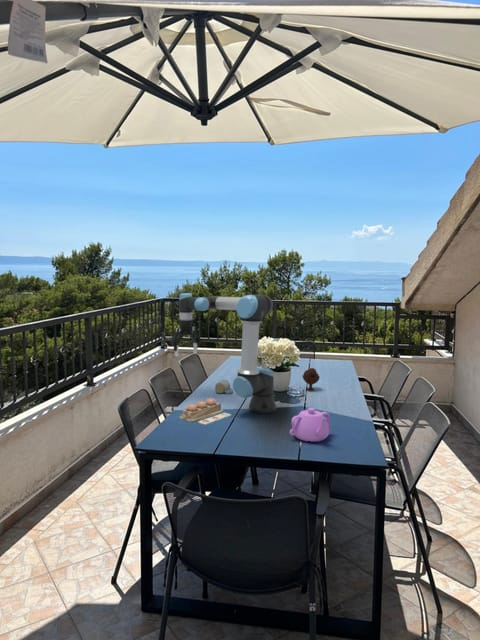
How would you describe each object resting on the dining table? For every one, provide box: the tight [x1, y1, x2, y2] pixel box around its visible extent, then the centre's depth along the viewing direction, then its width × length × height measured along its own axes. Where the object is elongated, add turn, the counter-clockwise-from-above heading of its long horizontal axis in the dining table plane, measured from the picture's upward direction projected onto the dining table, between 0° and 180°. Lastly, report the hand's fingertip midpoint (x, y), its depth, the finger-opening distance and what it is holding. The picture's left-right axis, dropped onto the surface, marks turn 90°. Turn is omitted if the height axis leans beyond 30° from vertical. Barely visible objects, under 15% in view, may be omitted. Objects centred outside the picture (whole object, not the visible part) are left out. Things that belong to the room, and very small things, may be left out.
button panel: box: [178, 401, 224, 423], centre depth 246 cm, size 10×23×4 cm, turn 140°
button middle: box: [196, 400, 207, 409], centre depth 246 cm, size 5×5×4 cm
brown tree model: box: [302, 367, 320, 392], centre depth 299 cm, size 11×11×15 cm
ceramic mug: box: [214, 378, 234, 395], centre depth 291 cm, size 11×8×8 cm
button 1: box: [187, 403, 197, 412], centre depth 240 cm, size 5×5×4 cm
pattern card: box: [197, 412, 232, 426], centre depth 240 cm, size 5×20×1 cm, turn 140°
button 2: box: [206, 397, 216, 406], centre depth 251 cm, size 5×5×4 cm
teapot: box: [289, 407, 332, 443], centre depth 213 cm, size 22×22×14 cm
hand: (186, 355), depth 273 cm, fingers open, 13 cm apart
